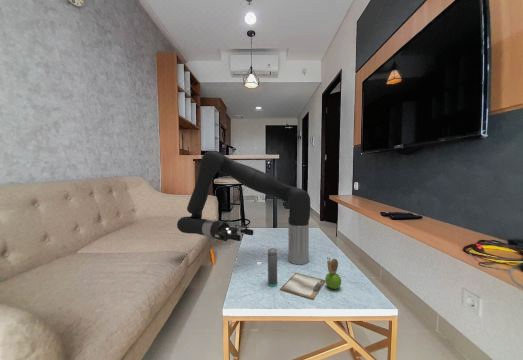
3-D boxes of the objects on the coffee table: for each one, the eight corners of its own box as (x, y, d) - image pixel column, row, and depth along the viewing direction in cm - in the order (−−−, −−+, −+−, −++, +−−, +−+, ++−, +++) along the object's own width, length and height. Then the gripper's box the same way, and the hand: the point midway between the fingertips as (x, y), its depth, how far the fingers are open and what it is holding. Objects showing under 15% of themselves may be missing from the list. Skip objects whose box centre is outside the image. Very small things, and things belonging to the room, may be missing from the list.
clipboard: (295, 273, 91) (295, 270, 91) (325, 281, 85) (325, 278, 85) (279, 290, 79) (279, 286, 79) (313, 300, 73) (313, 296, 73)
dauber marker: (270, 281, 85) (270, 247, 85) (278, 283, 84) (278, 249, 83) (266, 285, 83) (266, 250, 82) (274, 287, 81) (274, 252, 80)
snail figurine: (320, 289, 80) (321, 255, 79) (330, 282, 84) (330, 250, 84) (335, 295, 76) (335, 260, 75) (343, 287, 80) (344, 254, 80)
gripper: (203, 224, 90) (235, 230, 82) (226, 217, 102) (256, 222, 94) (203, 242, 91) (235, 250, 82) (226, 233, 103) (256, 239, 94)
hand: (246, 235), depth 88 cm, fingers open, 8 cm apart
